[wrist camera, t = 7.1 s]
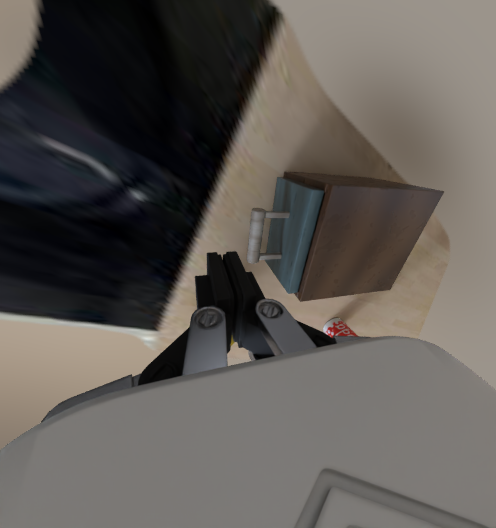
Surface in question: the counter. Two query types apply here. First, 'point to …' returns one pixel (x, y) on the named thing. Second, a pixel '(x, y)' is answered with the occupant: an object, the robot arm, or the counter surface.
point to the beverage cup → (337, 328)
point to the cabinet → (362, 233)
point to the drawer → (287, 231)
